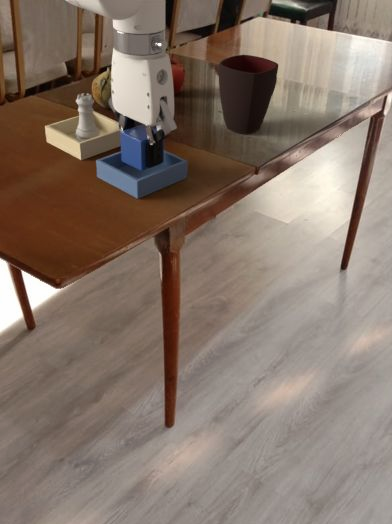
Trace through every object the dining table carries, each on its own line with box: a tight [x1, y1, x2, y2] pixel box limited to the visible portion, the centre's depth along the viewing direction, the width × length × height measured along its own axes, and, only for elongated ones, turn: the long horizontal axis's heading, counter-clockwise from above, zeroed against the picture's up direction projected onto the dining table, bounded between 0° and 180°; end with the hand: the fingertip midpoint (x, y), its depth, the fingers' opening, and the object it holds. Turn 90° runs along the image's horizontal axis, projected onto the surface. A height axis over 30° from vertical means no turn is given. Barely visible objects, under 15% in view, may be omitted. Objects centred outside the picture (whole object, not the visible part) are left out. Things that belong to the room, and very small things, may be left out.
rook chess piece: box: [75, 92, 99, 142], centre depth 112 cm, size 4×4×8 cm
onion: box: [91, 67, 112, 110], centre depth 126 cm, size 8×8×8 cm
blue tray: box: [95, 149, 189, 200], centre depth 104 cm, size 11×10×3 cm
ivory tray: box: [44, 110, 121, 161], centre depth 114 cm, size 11×10×3 cm
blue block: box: [120, 123, 165, 171], centre depth 102 cm, size 5×5×5 cm
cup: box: [218, 54, 279, 136], centre depth 120 cm, size 10×14×12 cm
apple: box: [166, 44, 186, 96], centre depth 132 cm, size 8×7×10 cm
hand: (142, 158), depth 103 cm, fingers closed on blue block, 5 cm apart
